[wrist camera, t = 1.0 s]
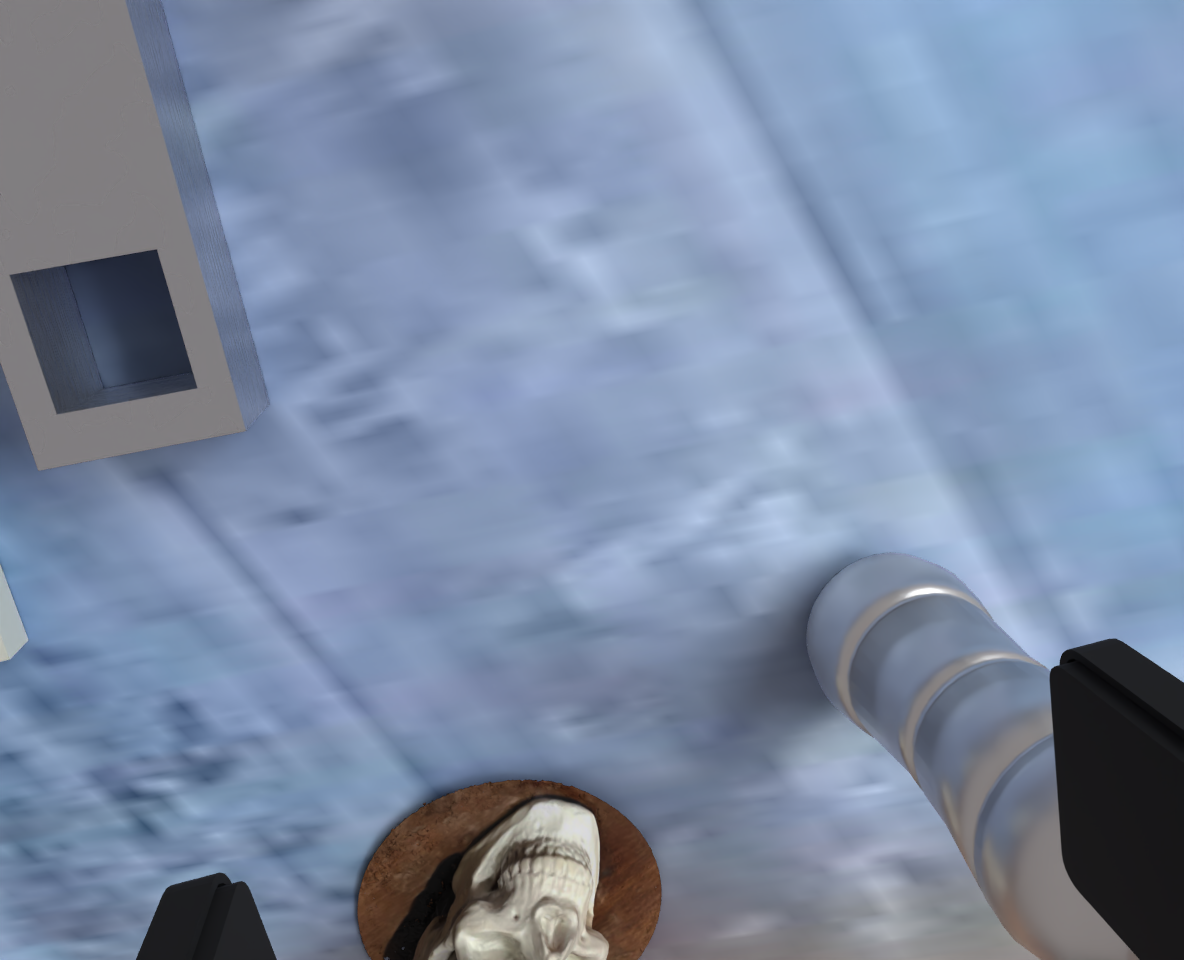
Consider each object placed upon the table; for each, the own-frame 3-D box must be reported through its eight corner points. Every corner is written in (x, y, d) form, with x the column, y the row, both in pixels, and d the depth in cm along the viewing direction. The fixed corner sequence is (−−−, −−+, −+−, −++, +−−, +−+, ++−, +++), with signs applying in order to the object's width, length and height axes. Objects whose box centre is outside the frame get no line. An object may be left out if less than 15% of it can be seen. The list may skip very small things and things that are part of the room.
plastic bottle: (819, 718, 39) (1167, 1212, 20) (766, 574, 37) (1098, 973, 18) (966, 654, 39) (1451, 1085, 20) (922, 507, 37) (1415, 834, 18)
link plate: (-100, -124, 27) (-189, -176, 24) (118, -155, 28) (65, -210, 24) (87, 438, 32) (38, 471, 28) (269, 404, 33) (245, 431, 29)
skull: (427, 723, 36) (625, 933, 30) (578, 717, 44) (754, 880, 39) (273, 980, 37) (434, 1224, 32) (448, 926, 46) (599, 1111, 41)
